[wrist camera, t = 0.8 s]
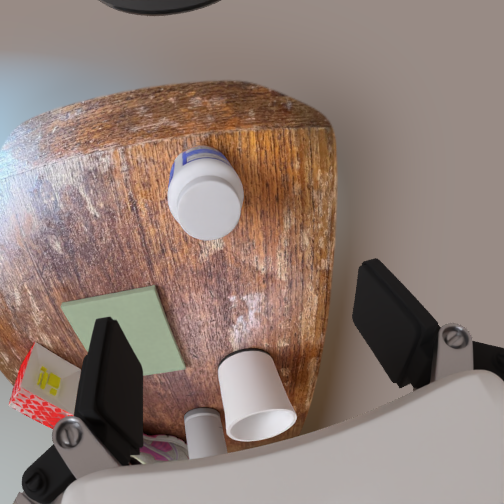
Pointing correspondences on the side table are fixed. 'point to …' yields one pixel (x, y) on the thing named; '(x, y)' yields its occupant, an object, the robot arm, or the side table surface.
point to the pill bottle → (205, 193)
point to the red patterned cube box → (45, 387)
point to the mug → (253, 396)
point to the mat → (131, 325)
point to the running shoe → (160, 450)
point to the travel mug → (204, 433)
